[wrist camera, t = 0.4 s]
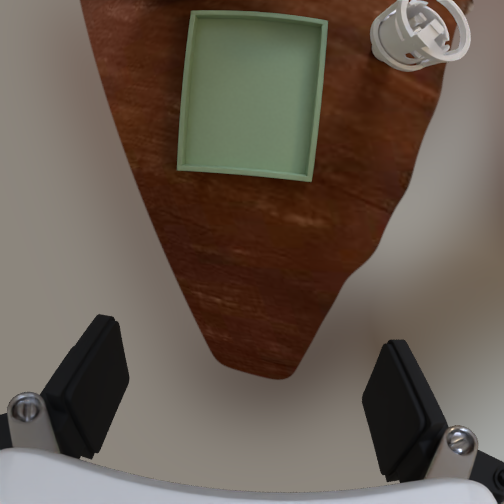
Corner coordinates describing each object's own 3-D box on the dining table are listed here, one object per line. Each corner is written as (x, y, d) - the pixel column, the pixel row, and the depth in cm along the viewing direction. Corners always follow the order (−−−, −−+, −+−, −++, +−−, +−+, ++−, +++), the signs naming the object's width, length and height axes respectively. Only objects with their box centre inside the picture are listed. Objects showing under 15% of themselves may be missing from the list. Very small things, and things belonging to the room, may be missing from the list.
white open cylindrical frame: (344, 45, 30) (389, 6, 17) (379, 15, 28) (435, -29, 15) (385, 88, 32) (450, 75, 18) (419, 56, 30) (489, 34, 16)
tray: (194, 15, 30) (190, 10, 28) (324, 25, 30) (328, 20, 28) (181, 168, 37) (176, 170, 35) (309, 179, 37) (311, 182, 35)
